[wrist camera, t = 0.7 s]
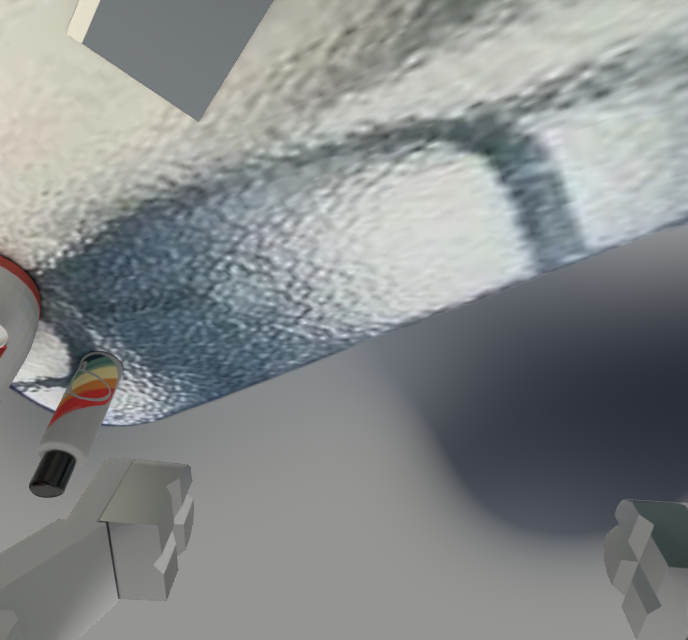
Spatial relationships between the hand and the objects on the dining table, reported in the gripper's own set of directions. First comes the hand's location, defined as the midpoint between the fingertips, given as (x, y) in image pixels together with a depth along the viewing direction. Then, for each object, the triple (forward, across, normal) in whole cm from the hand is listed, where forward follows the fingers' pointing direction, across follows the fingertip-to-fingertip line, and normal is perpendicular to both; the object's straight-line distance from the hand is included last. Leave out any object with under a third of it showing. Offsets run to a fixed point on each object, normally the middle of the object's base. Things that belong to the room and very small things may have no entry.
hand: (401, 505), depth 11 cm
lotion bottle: (+60, +35, +35) cm, 77 cm away
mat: (+47, +19, -9) cm, 51 cm away
